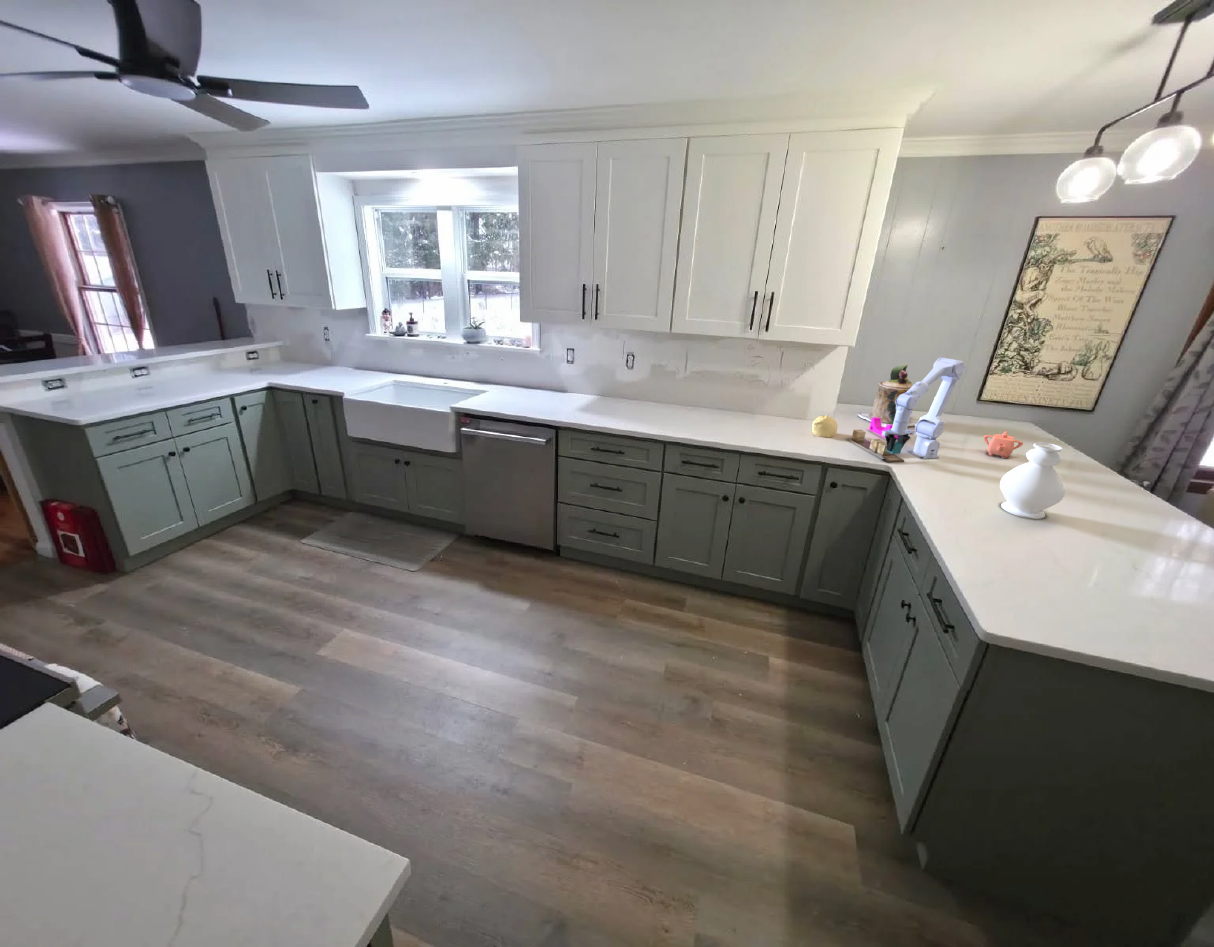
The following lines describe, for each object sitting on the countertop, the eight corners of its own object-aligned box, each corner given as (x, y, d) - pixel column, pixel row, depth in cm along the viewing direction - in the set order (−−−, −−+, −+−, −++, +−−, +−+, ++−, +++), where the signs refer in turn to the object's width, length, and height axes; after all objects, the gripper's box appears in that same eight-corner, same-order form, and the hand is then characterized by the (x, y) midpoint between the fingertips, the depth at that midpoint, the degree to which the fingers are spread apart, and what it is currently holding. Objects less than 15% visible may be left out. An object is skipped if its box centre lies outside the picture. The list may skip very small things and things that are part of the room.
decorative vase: (1044, 527, 168) (1073, 459, 158) (984, 507, 181) (1007, 443, 171) (1061, 513, 177) (1089, 448, 167) (1002, 495, 191) (1025, 434, 181)
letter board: (903, 461, 222) (907, 450, 219) (887, 462, 220) (890, 451, 218) (860, 438, 250) (863, 428, 247) (846, 439, 248) (848, 429, 246)
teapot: (1022, 460, 225) (1030, 439, 221) (996, 460, 225) (1003, 439, 221) (999, 449, 238) (1006, 429, 234) (974, 449, 238) (981, 429, 234)
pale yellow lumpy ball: (812, 431, 260) (816, 411, 256) (836, 435, 255) (841, 414, 250) (808, 437, 251) (812, 416, 247) (833, 441, 246) (837, 420, 241)
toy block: (898, 440, 249) (901, 425, 246) (886, 440, 248) (890, 426, 245) (879, 430, 262) (883, 417, 259) (868, 431, 262) (871, 417, 259)
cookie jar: (855, 416, 285) (867, 360, 273) (889, 413, 292) (902, 358, 279) (889, 429, 264) (904, 369, 251) (925, 426, 271) (941, 367, 258)
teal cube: (900, 453, 221) (902, 444, 219) (892, 454, 220) (894, 444, 218) (894, 450, 224) (896, 441, 223) (886, 450, 224) (888, 441, 222)
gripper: (909, 418, 221) (902, 446, 227) (880, 419, 219) (873, 447, 224) (921, 422, 215) (913, 452, 220) (891, 424, 213) (883, 453, 218)
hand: (893, 450), depth 222 cm, fingers closed on teal cube, 4 cm apart
